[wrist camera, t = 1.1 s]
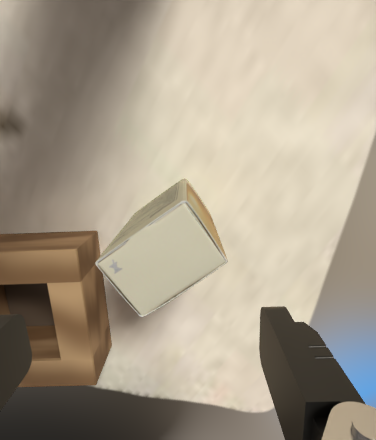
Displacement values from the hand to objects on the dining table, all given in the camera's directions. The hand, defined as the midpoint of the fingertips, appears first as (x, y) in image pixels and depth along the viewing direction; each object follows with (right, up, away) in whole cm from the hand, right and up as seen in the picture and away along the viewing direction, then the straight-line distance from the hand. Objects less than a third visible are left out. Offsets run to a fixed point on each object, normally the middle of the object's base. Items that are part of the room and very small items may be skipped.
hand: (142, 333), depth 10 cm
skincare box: (0, +5, +18) cm, 18 cm away
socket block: (-14, -4, +20) cm, 24 cm away
